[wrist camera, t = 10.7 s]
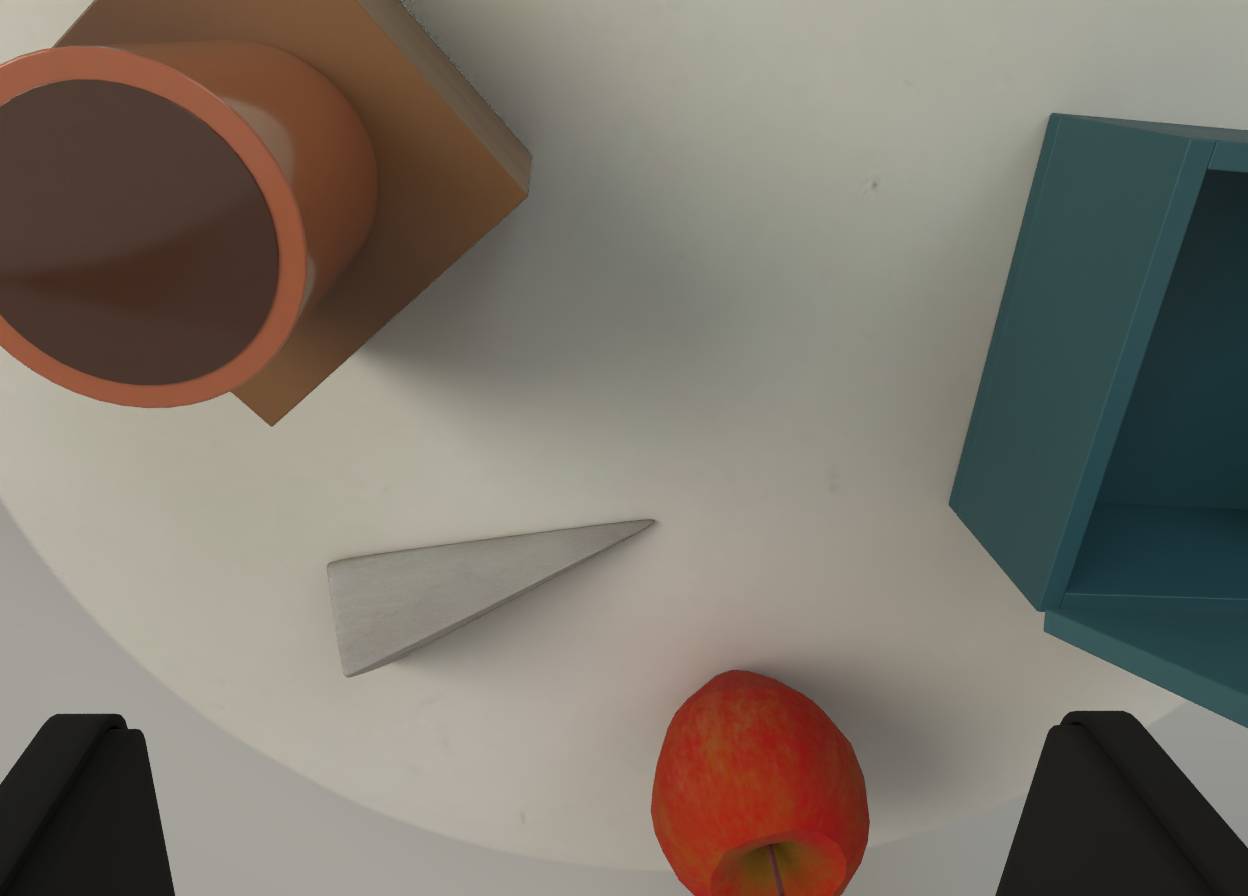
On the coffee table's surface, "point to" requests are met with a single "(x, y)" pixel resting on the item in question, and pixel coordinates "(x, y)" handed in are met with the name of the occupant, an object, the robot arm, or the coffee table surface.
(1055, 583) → the cool box
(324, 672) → the coffee table surface
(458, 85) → the stand
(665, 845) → the apple
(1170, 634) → the cool box lid
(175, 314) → the cup
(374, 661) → the grey triangular spike
